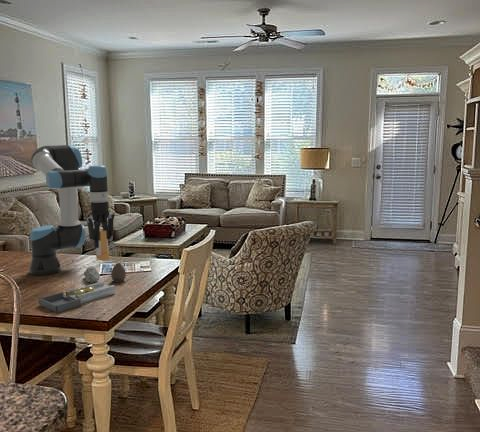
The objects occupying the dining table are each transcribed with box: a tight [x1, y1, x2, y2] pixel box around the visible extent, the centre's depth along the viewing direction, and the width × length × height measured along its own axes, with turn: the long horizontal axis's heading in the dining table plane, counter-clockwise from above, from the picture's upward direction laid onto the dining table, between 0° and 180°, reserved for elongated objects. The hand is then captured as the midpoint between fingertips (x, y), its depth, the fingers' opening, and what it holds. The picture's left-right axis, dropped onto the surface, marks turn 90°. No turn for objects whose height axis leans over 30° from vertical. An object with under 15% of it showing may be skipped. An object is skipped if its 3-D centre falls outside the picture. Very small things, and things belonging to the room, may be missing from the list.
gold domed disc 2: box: [85, 286, 95, 293], centre depth 206 cm, size 4×4×2 cm
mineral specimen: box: [83, 266, 101, 284], centre depth 228 cm, size 16×7×7 cm, turn 24°
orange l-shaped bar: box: [95, 229, 111, 262], centre depth 208 cm, size 6×3×13 cm, turn 50°
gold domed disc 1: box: [75, 289, 85, 296], centre depth 202 cm, size 4×4×2 cm
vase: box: [110, 262, 127, 283], centre depth 228 cm, size 7×7×9 cm
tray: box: [38, 291, 82, 314], centre depth 195 cm, size 14×11×3 cm
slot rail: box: [65, 281, 116, 305], centre depth 206 cm, size 10×18×4 cm, turn 140°
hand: (102, 253), depth 209 cm, fingers closed on orange l-shaped bar, 3 cm apart
